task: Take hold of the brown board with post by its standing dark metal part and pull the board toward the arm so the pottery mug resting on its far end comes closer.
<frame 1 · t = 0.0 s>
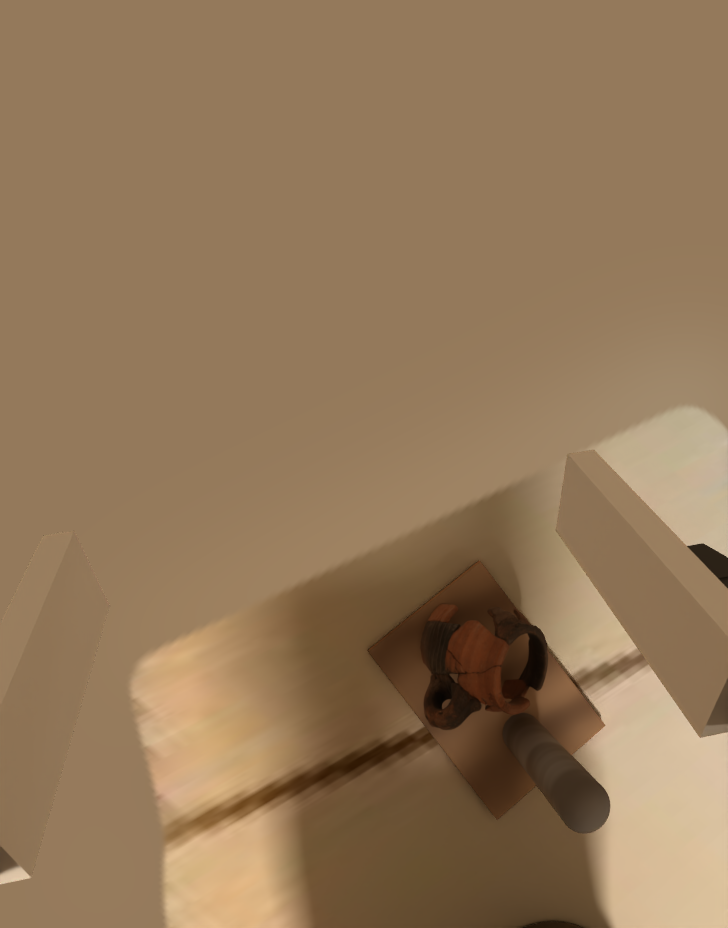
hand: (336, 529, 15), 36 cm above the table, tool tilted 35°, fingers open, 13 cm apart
brown board with post: (510, 713, 45), point 6 cm above the table, slide at 0.6 cm, touching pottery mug
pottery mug: (463, 656, 51), point 1 cm above the table, touching brown board with post
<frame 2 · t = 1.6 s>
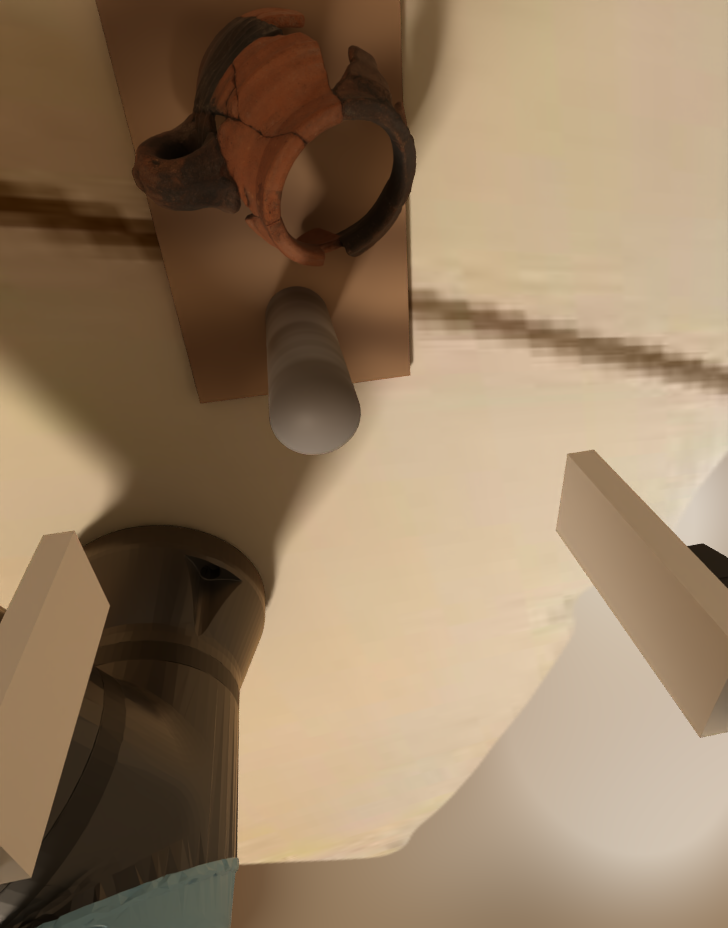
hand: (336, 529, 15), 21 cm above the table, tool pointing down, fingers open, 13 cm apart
brown board with post: (289, 249, 25), point 6 cm above the table, slide at 0.6 cm, touching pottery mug
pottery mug: (272, 142, 27), resting on brown board with post
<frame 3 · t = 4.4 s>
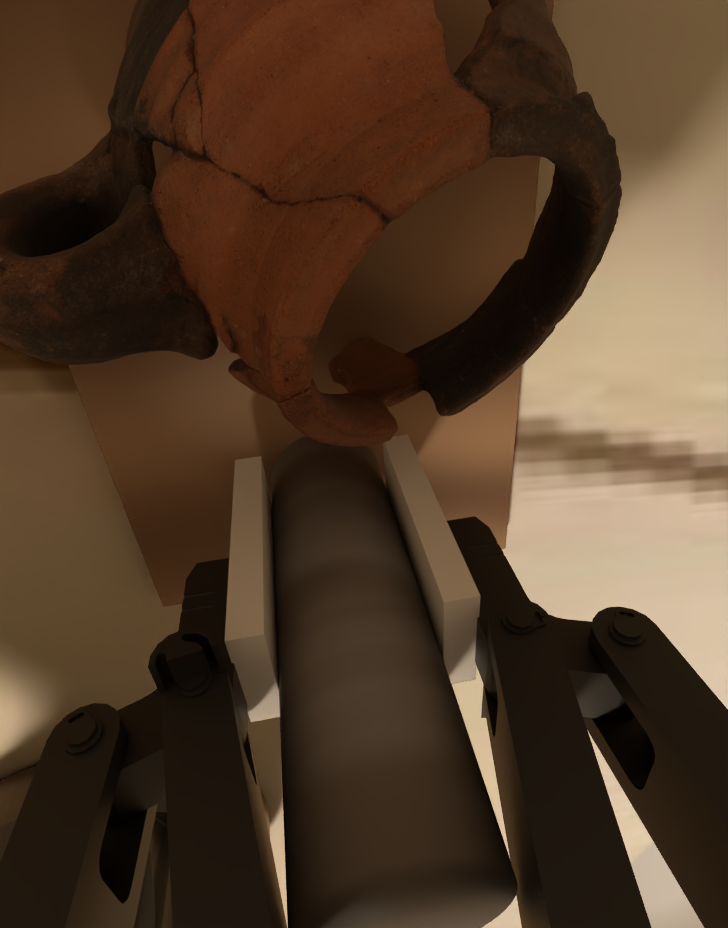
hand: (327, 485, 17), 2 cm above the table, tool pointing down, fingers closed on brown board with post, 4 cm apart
brown board with post: (327, 435, 11), point 6 cm above the table, slide at 0.7 cm, touching gripper, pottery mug
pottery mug: (285, 186, 14), resting on brown board with post
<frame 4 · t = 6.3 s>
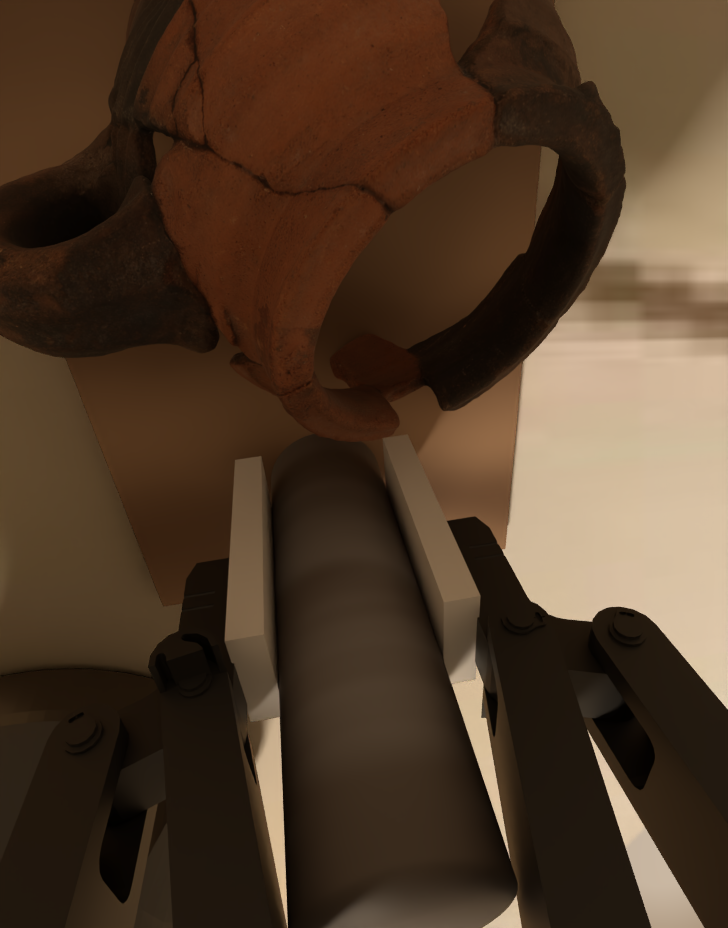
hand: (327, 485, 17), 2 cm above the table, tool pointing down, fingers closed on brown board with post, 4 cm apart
brown board with post: (327, 435, 11), point 6 cm above the table, slide at 6.7 cm, touching gripper, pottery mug
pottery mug: (287, 180, 14), resting on brown board with post
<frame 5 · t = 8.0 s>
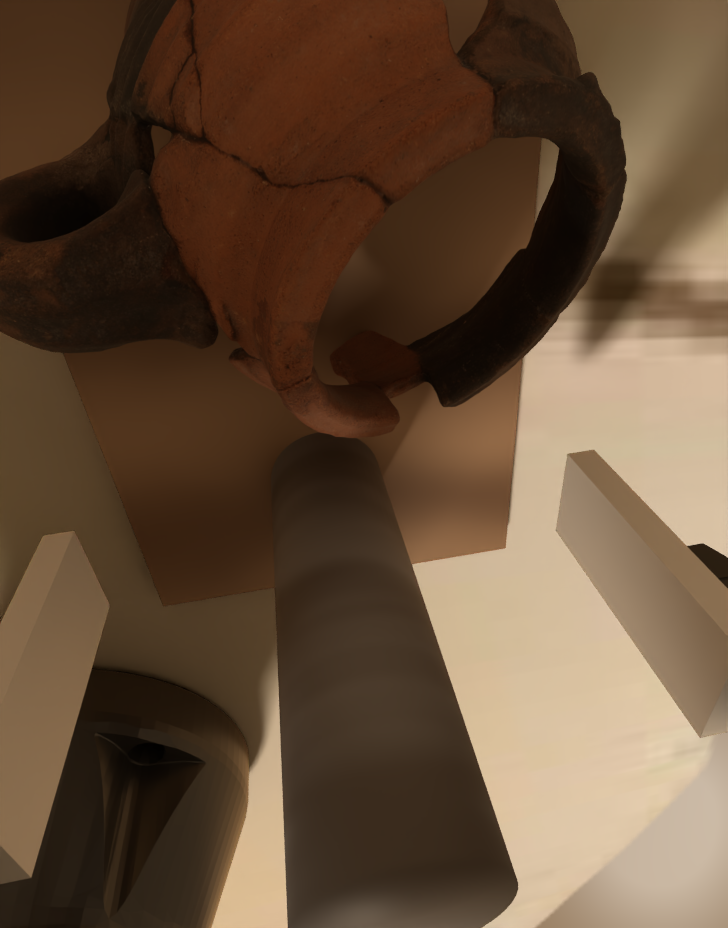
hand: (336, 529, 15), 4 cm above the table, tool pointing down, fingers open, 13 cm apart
brown board with post: (327, 434, 11), point 6 cm above the table, slide at 6.7 cm, touching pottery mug
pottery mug: (286, 176, 14), resting on brown board with post
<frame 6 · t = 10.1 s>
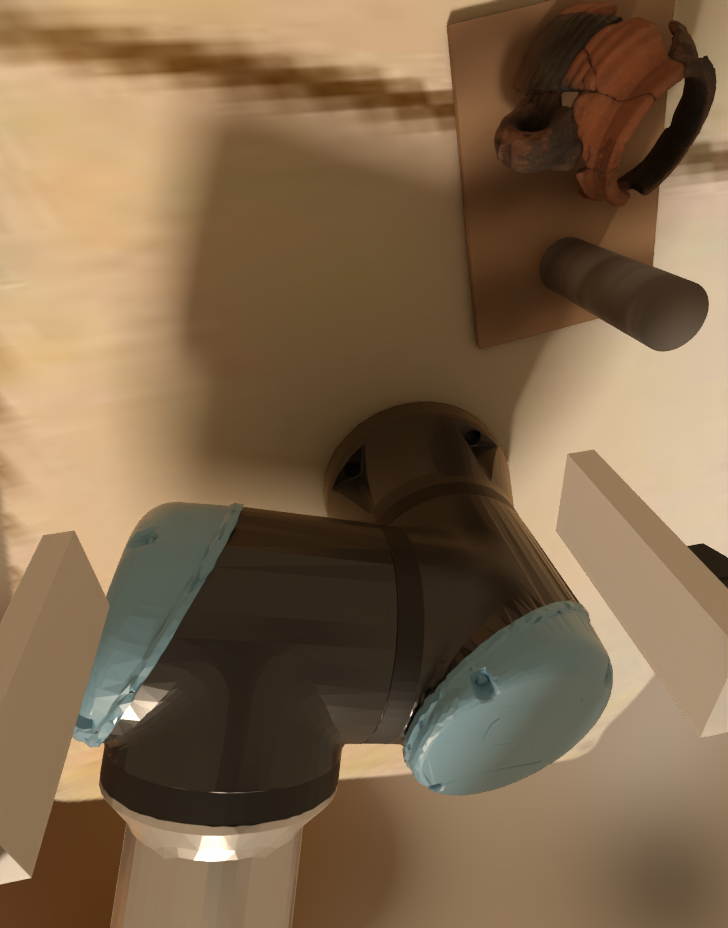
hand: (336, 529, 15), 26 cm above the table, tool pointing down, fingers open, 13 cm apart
brown board with post: (612, 196, 31), point 6 cm above the table, slide at 6.4 cm, touching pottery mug
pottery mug: (563, 113, 34), resting on brown board with post
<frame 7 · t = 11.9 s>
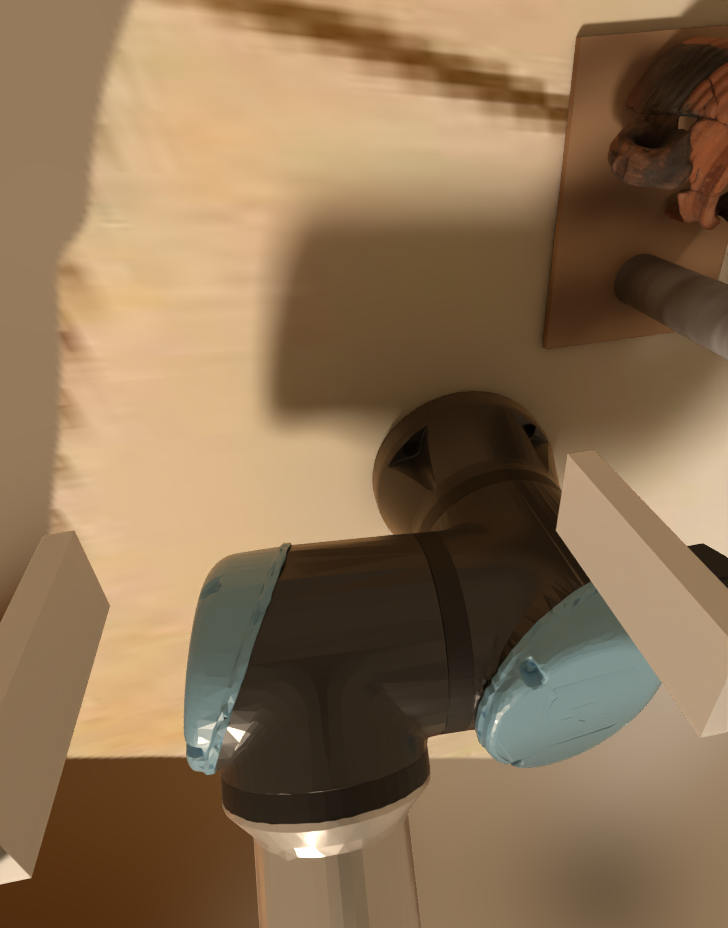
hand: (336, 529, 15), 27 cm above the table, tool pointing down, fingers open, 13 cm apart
brown board with post: (708, 219, 33), point 6 cm above the table, slide at 6.5 cm, touching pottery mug
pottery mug: (664, 136, 36), resting on brown board with post
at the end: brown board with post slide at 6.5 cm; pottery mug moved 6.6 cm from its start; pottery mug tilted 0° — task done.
